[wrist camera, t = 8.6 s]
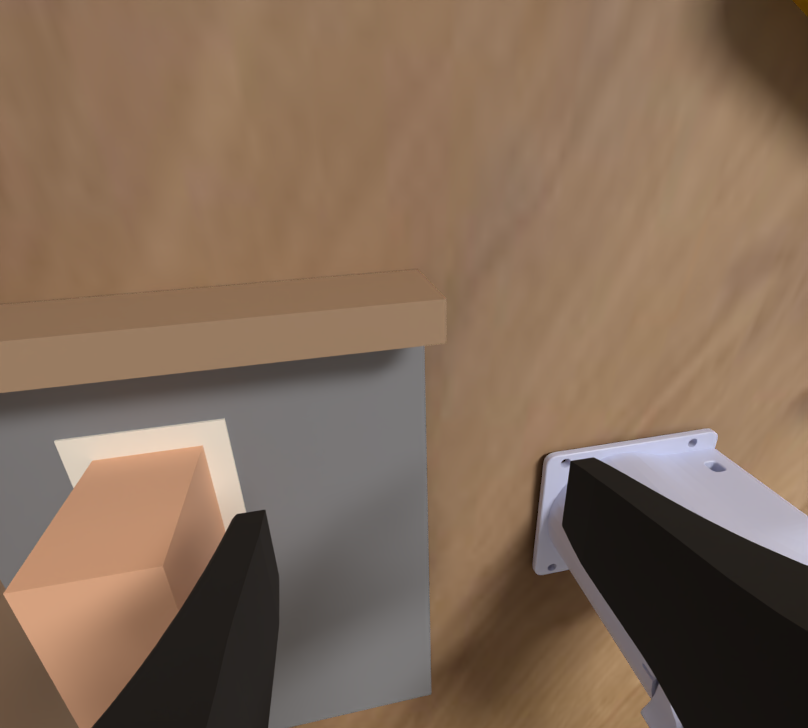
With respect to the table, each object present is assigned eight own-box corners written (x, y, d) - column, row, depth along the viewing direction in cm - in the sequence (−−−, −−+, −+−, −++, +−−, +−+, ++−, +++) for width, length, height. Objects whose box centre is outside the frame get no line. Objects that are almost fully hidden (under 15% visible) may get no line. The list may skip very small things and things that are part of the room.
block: (236, 573, 22) (214, 714, 16) (142, 590, 21) (87, 743, 16) (202, 445, 19) (162, 566, 13) (92, 460, 18) (3, 593, 13)
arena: (417, 269, 18) (446, 298, 15) (428, 680, 29) (445, 755, 25) (-177, 319, 15) (-324, 372, 12) (81, 759, 26) (47, 857, 22)
